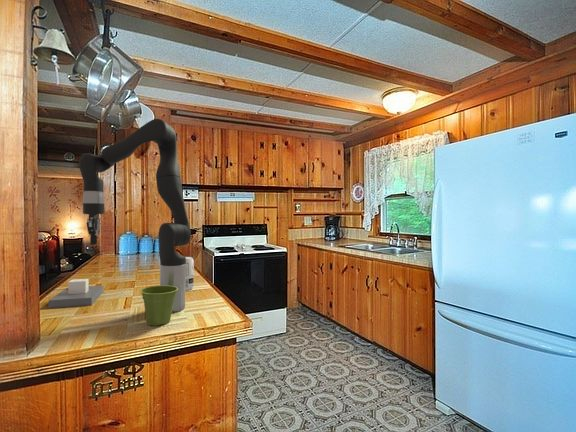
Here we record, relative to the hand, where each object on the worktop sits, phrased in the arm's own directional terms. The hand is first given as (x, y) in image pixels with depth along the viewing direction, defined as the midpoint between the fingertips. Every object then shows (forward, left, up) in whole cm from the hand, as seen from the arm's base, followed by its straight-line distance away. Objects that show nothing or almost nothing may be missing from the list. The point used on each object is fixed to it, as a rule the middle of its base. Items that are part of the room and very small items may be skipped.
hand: (93, 244), depth 125 cm
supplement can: (+10, -36, -23) cm, 44 cm away
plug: (+3, +6, -22) cm, 23 cm away
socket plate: (+3, +6, -23) cm, 24 cm away
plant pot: (-34, -27, -23) cm, 50 cm away
